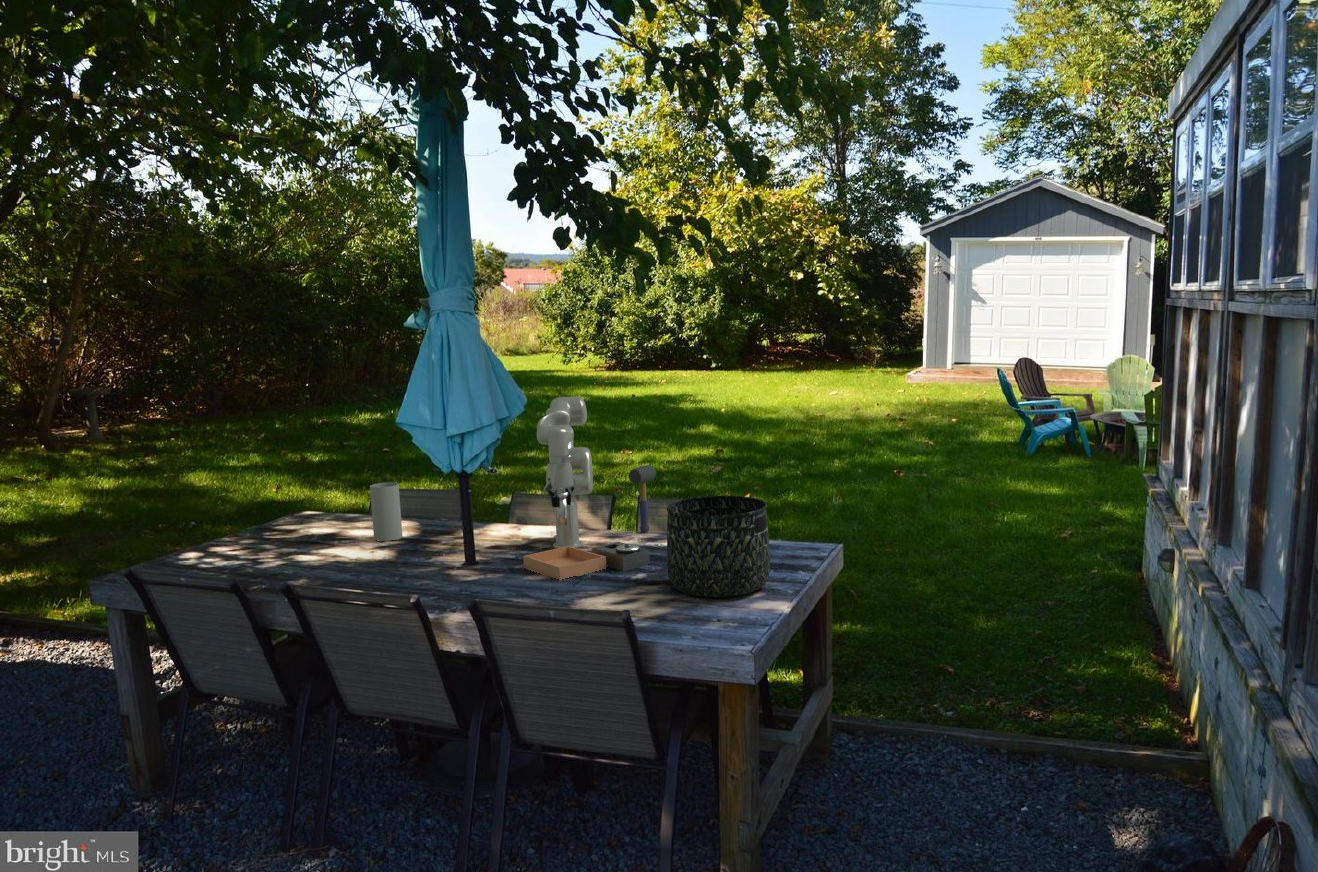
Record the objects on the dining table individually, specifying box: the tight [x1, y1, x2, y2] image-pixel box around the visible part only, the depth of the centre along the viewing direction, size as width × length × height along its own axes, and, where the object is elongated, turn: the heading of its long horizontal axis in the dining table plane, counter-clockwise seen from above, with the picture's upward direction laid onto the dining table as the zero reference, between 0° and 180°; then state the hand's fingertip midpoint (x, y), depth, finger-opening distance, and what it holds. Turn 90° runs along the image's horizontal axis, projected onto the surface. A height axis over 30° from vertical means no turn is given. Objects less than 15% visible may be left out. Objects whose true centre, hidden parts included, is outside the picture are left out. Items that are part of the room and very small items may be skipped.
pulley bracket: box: [591, 541, 650, 572], centre depth 404 cm, size 20×13×8 cm, turn 39°
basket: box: [665, 495, 771, 598], centre depth 365 cm, size 37×37×30 cm
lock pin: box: [556, 491, 568, 525], centre depth 397 cm, size 5×5×12 cm
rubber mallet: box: [628, 464, 657, 534], centre depth 455 cm, size 12×8×30 cm, turn 146°
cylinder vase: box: [369, 481, 403, 542], centre depth 462 cm, size 12×12×25 cm
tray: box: [522, 546, 607, 581], centre depth 400 cm, size 26×22×5 cm
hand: (561, 505), depth 397 cm, fingers closed on lock pin, 5 cm apart
